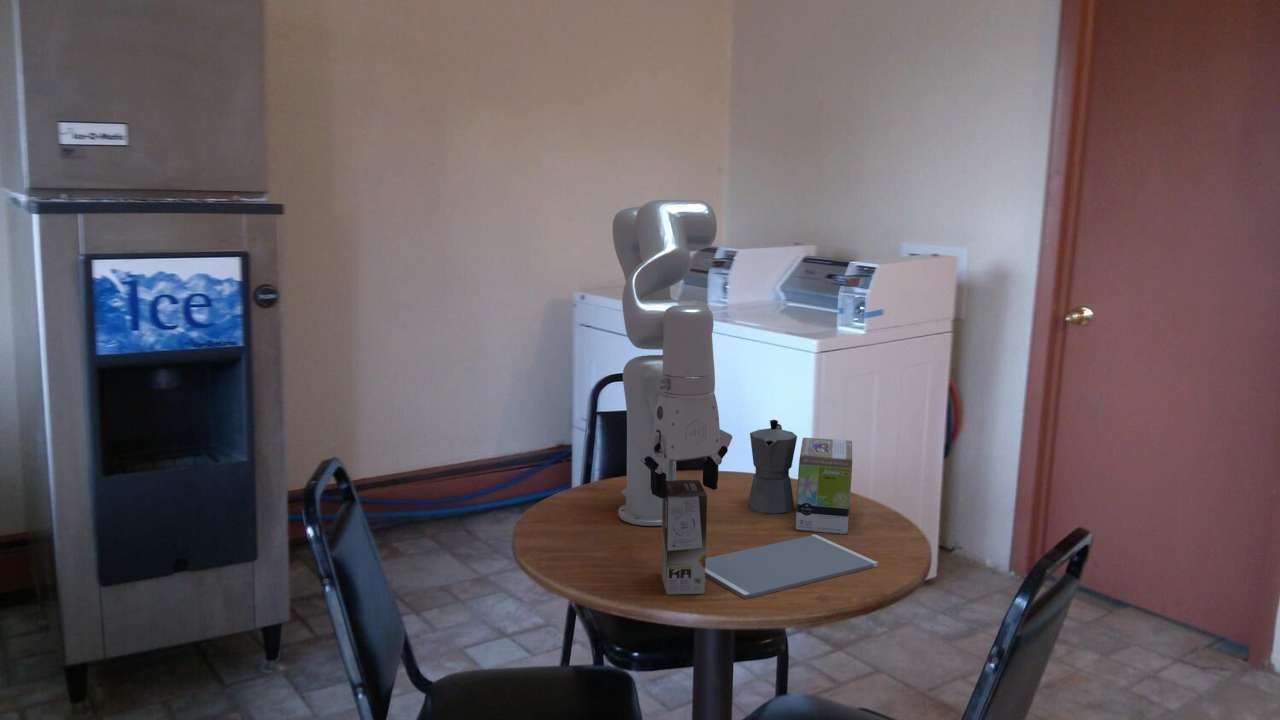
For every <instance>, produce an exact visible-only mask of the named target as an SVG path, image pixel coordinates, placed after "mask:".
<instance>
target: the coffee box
mask: <svg viewBox="0 0 1280 720" xmlns="http://www.w3.org/2000/svg"><path fill="white" fill-rule="evenodd" d="M707 511H708V495H707V493H706V491H705V489H704V487H703V484H702V483H701V481H700V480H699V479H676V480H674V481H666V497H665V498H662V526H661V570H660V571H661V572H660V573H661V579H662V583H663V585H664V586H663V587H664V590H665V594H666V595H702V594H705V592H706V591H705V590H706V589H705V588H706V576H705V561H706V558H707V521H708V520H707V517H708V516H707V513H708V512H707Z"/></svg>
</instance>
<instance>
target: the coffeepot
mask: <svg viewBox="0 0 1280 720" xmlns="http://www.w3.org/2000/svg"><path fill="white" fill-rule="evenodd" d="M769 425H770V428H762V429H758V430H757V429H756V430H755V431H751V432H750V433H749V437H750V439H749V440H750V443H751V445H750V446H751V454H752V462H753V466H754V467H755V470H754V471H755V474H754V475H753V479H752V482H751V487H750V488H751V489H750V493H749V498H748V503H747V505H748V506H749V509H751V510H753V511H754V512H756V513H761V514H766V513H767V515H769V514H770V515H780V514H779V513H782V514H787V513H789V511H790V510H791V511H792V510H793V509H795V504H794V496H793V488H792V480H791V477H790V472H789V471H790V469H791V468H793V467H792V466H793V461H794V455H795V451H796V450H795V449H796V445H797V440H798V435H796V434H795V433H794V432H793V431H790V430H785V429H783V426H782V424H780V423H779V420H776V419H771V420H769ZM791 511H790V512H791ZM786 512H787V513H786Z"/></svg>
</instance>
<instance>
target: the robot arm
mask: <svg viewBox="0 0 1280 720" xmlns="http://www.w3.org/2000/svg"><path fill="white" fill-rule="evenodd" d="M717 226H718V222H717V218H716V213H715V211H714V209H713V207H712V206H711V205H710V204H709V203H708V202H706V201H704V200H698V199H697V200H696V199H694V200H692V199H657V200H651V201H649V202H646V203H645V204H643V205H642V206H633V207H628V208H623V209H621V210H620V211H617V213H615V215H614V218H613V221H612V240H613V246H614V250H615V255H616V258H617V260H618V263H619V266H620V267H621V270H622V272H623V276H624V280H625V283H624V284H625V285H624V286H623V292H622V299H621V300H622V313H623V315H622V316H623V320H624V321H623V322H624V328H625V332H626V333H625V334H626V336H627V338H628V340H629V341H630V343H631V345H633V346H634V347H635V348H638V349H641V350H650V351H651V350H653V351H654V350H657V351H659V350H660V351H661V350H662V354H647V355H640V356H636V357H633V358H631V359H629V360H628V361H627V362H626V364H625V365H624V367H623V371H622V385H623V392H624V398H625V399H624V400H625V407H626V408H625V409H626V437H627V438H626V488H623V489H622V490H621V495H622V496H624V497H625V504H623V505H621V506H620V507H619V508H618V513H617V514H618V517H619V518H620V520H622V521H623V522H625V523H628V524H632V525H636V526H644V527H659V526H660V527H662V498H665V497H666V481H674V480H677V462H682V461H688V460H689V461H690V460H695V459H705V461H703V463H702V487H703V486H704V487H705V488H708V489H710V490H713V491H715V490H718V483H719V482H718V481H719V465H722V463H723V458H724V457H725V455H726V454H727V453H728V451H729V449H728V448H729V447H730V444H731V442H732V440H733V435H732V434H731V433H729V432H727V431H724V430H722V429H720V416H719V408H718V402H717V397H716V394H715V390H716V388H715V387H716V377H715V374H716V372H715V359H714V347H713V346H714V344H713V331H714V314H713V311H712V310H710V308H709V306H708V305H707V304H706V303H705V302H704V301H700V300H693V299H691V300H690V299H688V300H685V299H682V300H681V299H679V300H678V299H673V298H672V297H671V287H672V286H674V285H677V284H678V283H681V281H683V280H684V279H685V278H686V277H687V276H688V275H689V273H690V271H691V268H692V263H693V262H692V256H691V253H690V252H697V251H702V250H705V249H708V248H710V246H712V245H713V243H714V241H715V240H716V236H717V232H718V231H717V230H718V227H717Z"/></svg>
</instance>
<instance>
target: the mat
mask: <svg viewBox="0 0 1280 720" xmlns="http://www.w3.org/2000/svg"><path fill="white" fill-rule="evenodd" d="M878 564H879V563H878V561H875V560H873V559H871V558H868V557H866V556H865V555H862V554H861V553H857V551H856V552H855V551H853V550H851V549H849V548H847V547H844V546H842V545H839V544H838V543H835V542H833V541H831V540H829V539H827V538H824V537H823V536H820V535H817V534H810V535H808V536H803V537H800V538H798V537H797V538H795V539H788V540H785V541H780V542H776V543H771V544H767V545H763V546H762V545H761V546H757V547H753V548H748V549H742V550H739V551H733V552H730V553H725V554H720V555H715V556H712V557H711V556H710V557H706V561H705V578H708V579H710V580H711V581H713V582H714V583H716V584H718V585H719V586H721V587H723V588H725V589H727V590H728V591H730V592H731V593H733V594H736V595H737V596H738V597H740V598H742V599H743V600H748V599H751V598H755V597H759V596H763V595H767V594H771V593H775V592H780V591H784V590H787V589H791V588H792V589H793V588H796V587H799V586H805V585H808V584H812V583H816V582H819V581H824V580H829V579H831V578H835V577H840V576H845V575H847V574H853V573H857V572H860V571H864V570H869V569H872V568H877V567H878Z"/></svg>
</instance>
